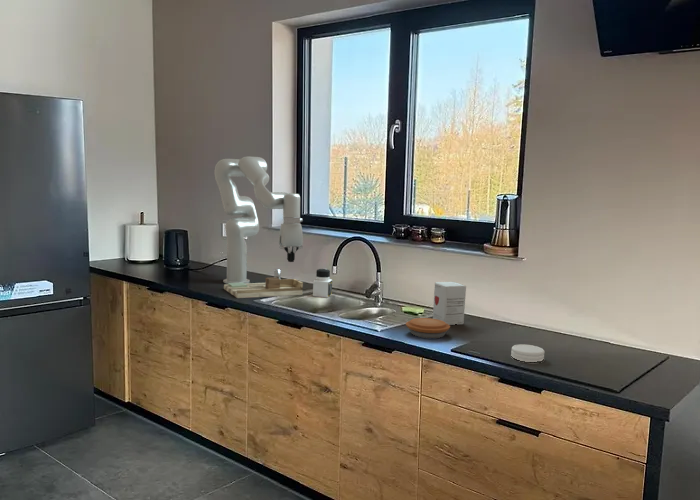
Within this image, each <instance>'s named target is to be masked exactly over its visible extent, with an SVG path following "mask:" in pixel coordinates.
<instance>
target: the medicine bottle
mask: <svg viewBox="0 0 700 500" xmlns="http://www.w3.org/2000/svg"><path fill="white" fill-rule="evenodd" d="M315 273H316V276H315V279H314V280H313V282H312V296H313V297H320V298H329V297H331V296H332V294H333V279H332V278H330V277H331V270H330V269H328V268H318V269H316V272H315Z"/></svg>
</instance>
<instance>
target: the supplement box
mask: <svg viewBox="0 0 700 500" xmlns="http://www.w3.org/2000/svg"><path fill="white" fill-rule="evenodd" d="M433 290H434V293H433V310H432V319H438V320H442V321H444V322H445V323H447V324H449V325H450V326H452V325H453V326H455V324H457V325H464V321H465V311H466V310H465V308H466V307H465V306H466V294H467V286H466V285H463V284H461V283H458V282H455V281H436V282H434V289H433Z"/></svg>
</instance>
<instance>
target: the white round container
mask: <svg viewBox="0 0 700 500" xmlns="http://www.w3.org/2000/svg"><path fill="white" fill-rule="evenodd" d="M510 353H511V354H510V357H511V356H512V357H513V358H515V359H517V360H520V361H525V362H537V361H542V360H543V359H544V360H545V350H544V349H543V347H539V346H537V345H532V344H524V343H523V344H514V345H513V346H512V347H511V351H510ZM512 357H511V358H512ZM513 358H512V359H513ZM520 361H519V362H520Z"/></svg>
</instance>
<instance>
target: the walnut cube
mask: <svg viewBox="0 0 700 500" xmlns="http://www.w3.org/2000/svg"><path fill="white" fill-rule="evenodd" d="M280 279H281V278H280ZM280 279H278V278H276V277H274V276H273V277H265V283H266V284H265V289H276V288H280Z"/></svg>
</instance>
